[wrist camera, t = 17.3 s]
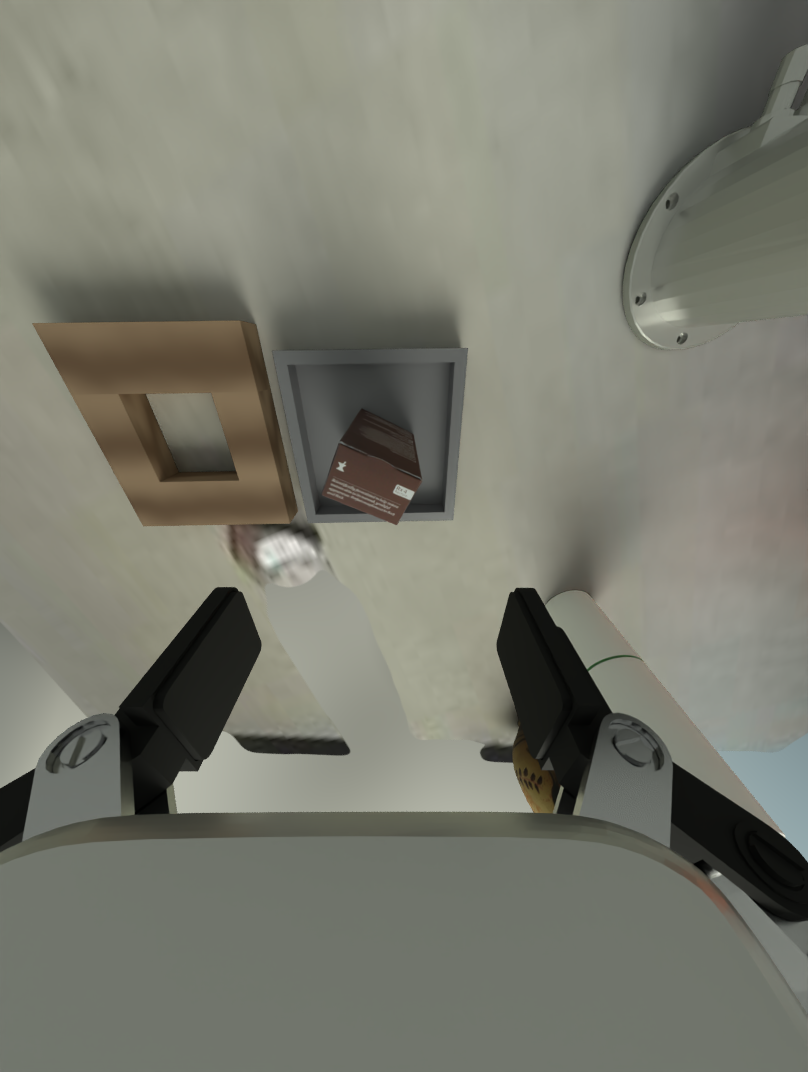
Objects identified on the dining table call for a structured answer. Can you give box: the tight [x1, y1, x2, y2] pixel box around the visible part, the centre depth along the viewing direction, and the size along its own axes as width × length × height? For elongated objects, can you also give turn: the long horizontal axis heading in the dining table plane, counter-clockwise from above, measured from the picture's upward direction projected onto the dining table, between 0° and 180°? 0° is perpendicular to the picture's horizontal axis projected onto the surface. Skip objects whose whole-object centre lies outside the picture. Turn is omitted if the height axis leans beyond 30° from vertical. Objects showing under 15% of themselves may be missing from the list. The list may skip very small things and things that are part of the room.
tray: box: [272, 348, 468, 523], centre depth 29 cm, size 16×16×3 cm
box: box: [322, 408, 423, 525], centre depth 25 cm, size 6×4×12 cm
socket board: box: [32, 321, 298, 526], centre depth 29 cm, size 18×16×3 cm
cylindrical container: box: [545, 590, 785, 837], centre depth 33 cm, size 7×7×25 cm
